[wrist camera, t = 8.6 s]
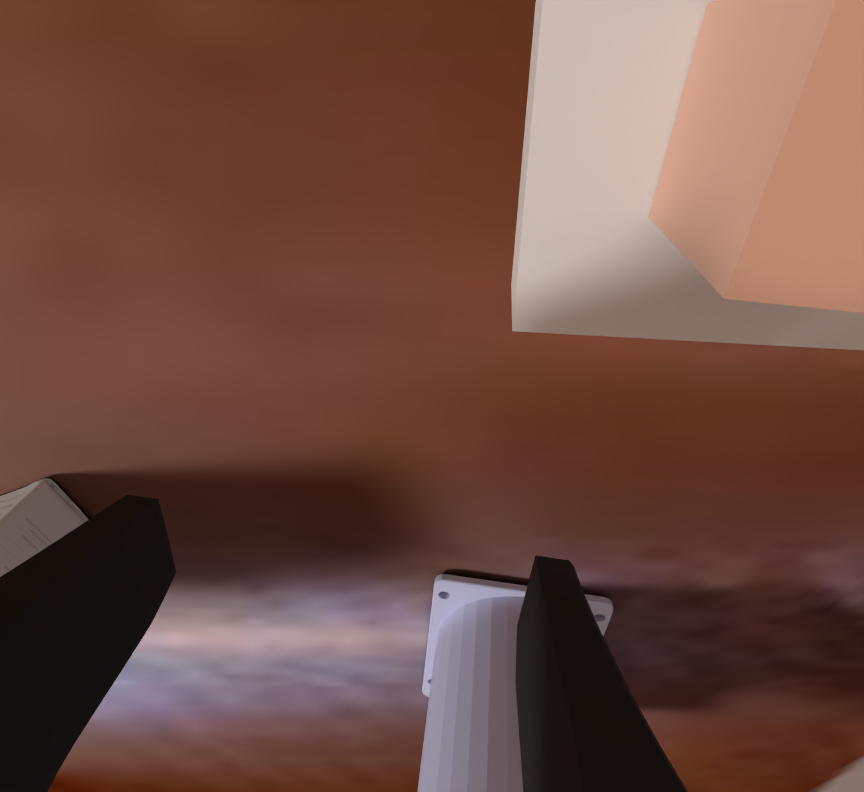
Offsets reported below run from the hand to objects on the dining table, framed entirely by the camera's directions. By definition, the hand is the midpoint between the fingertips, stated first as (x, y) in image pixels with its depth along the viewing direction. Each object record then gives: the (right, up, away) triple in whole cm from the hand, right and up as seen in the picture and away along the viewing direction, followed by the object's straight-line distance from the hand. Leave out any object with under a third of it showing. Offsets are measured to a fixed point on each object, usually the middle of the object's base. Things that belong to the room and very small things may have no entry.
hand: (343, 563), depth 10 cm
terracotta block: (+9, +9, +1) cm, 12 cm away
